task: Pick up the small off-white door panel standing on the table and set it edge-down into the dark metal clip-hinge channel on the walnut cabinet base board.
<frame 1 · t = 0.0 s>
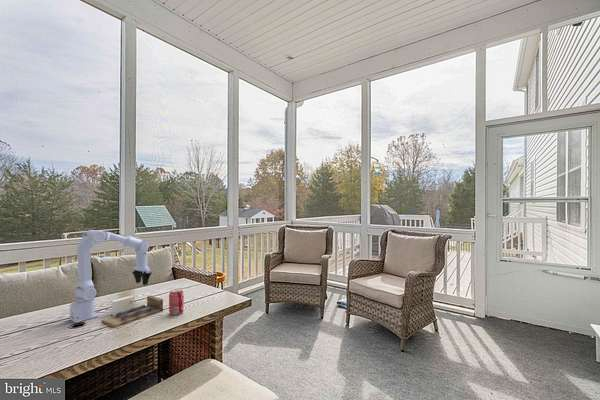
hand: (141, 283, 164), 10 cm above the table, tool pointing down, fingers open, 7 cm apart
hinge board: (133, 316, 142), on the table
door panel: (123, 311, 148), on the table
soda can: (176, 313, 146), on the table
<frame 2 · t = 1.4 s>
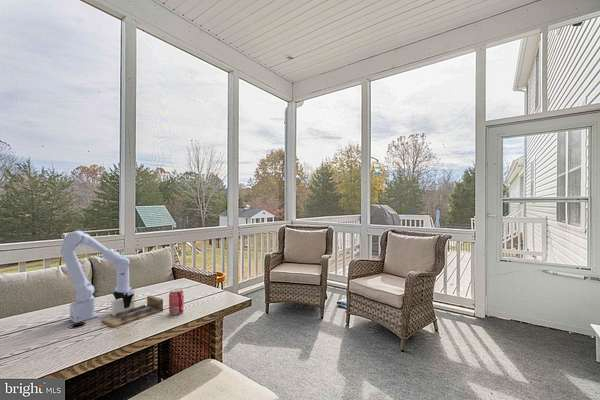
hand: (123, 306, 148), 3 cm above the table, tool pointing down, fingers open, 7 cm apart
nothing on the table moved.
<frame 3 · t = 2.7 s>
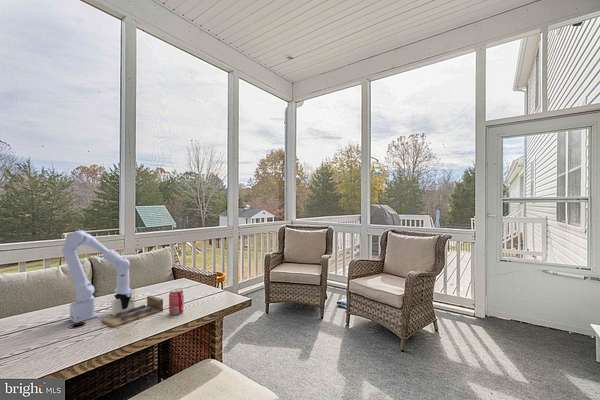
hand: (123, 307, 148), 2 cm above the table, tool pointing down, fingers closed on door panel, 3 cm apart
door panel: (123, 311, 148), on the table, touching gripper
everything else where it was.
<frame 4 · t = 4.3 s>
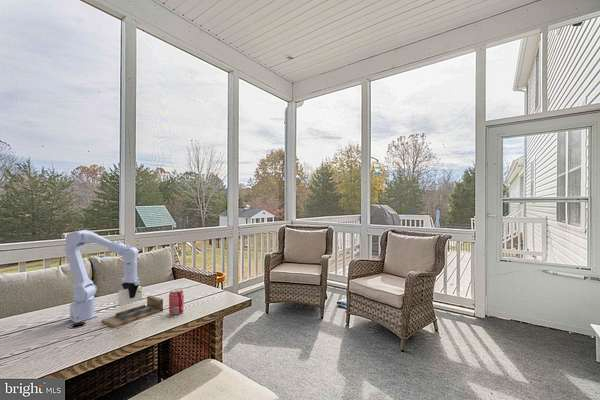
hand: (130, 297, 144), 9 cm above the table, tool pointing down, fingers closed on door panel, 3 cm apart
door panel: (130, 302, 144), point 6 cm above the table, touching gripper
everything else where it was.
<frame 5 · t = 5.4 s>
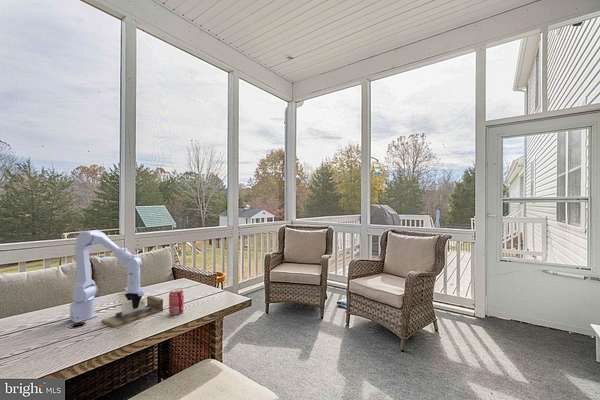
hand: (133, 307, 142), 4 cm above the table, tool pointing down, fingers closed on door panel, 3 cm apart
door panel: (133, 313, 142), point 1 cm above the table, touching gripper
everything else where it was.
when the fingers open (4 cm above the table, at t = 5.8 s): door panel stays where it is, resting on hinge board.
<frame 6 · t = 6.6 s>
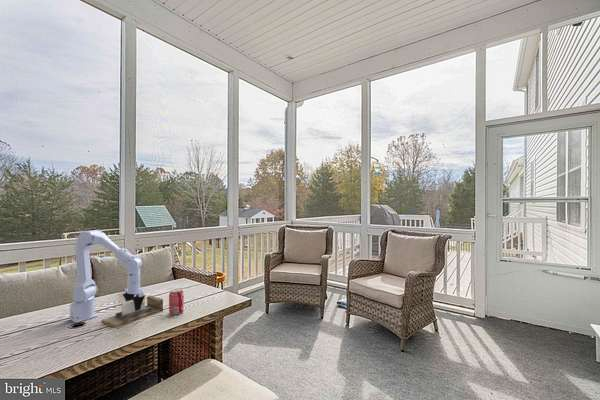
hand: (133, 308, 142), 4 cm above the table, tool pointing down, fingers open, 7 cm apart
door panel: (133, 314, 142), point 1 cm above the table, touching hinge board
everything else where it was.
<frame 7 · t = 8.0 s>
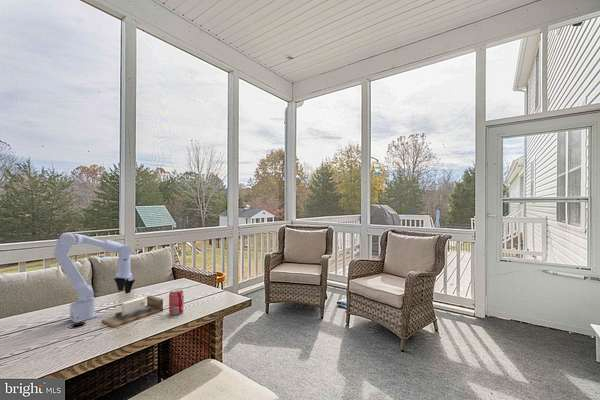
hand: (124, 291, 151), 9 cm above the table, tool pointing down, fingers open, 7 cm apart
nothing on the table moved.
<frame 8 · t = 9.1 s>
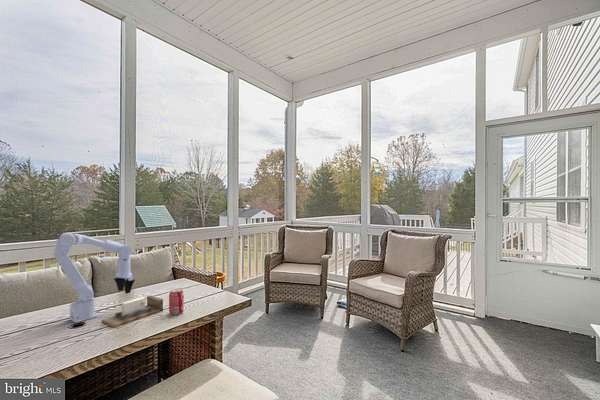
hand: (124, 291, 151), 9 cm above the table, tool pointing down, fingers open, 7 cm apart
nothing on the table moved.
at the end: door panel 0.0 cm off-centre on the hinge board, point 1.0 cm above the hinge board's base; door panel tilted 0°; the gripper is holding nothing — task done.
